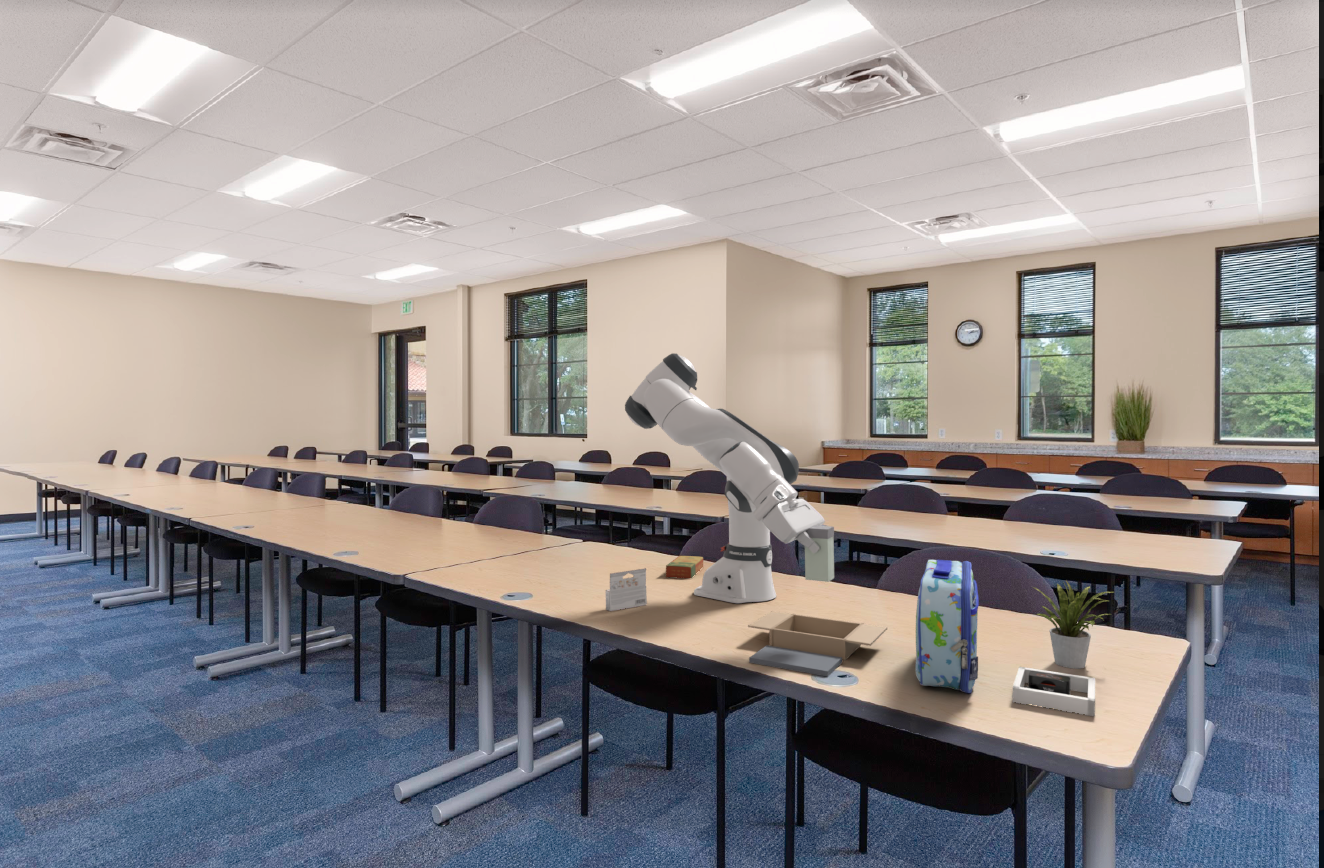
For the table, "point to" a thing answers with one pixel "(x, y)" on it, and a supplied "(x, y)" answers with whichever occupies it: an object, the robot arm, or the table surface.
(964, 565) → the lunch box
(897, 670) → the table surface
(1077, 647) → the house plant
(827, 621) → the open cardboard box
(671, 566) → the carton
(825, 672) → the slate mat
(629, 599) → the ink cartridge box
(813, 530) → the block
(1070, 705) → the dish
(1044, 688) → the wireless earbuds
